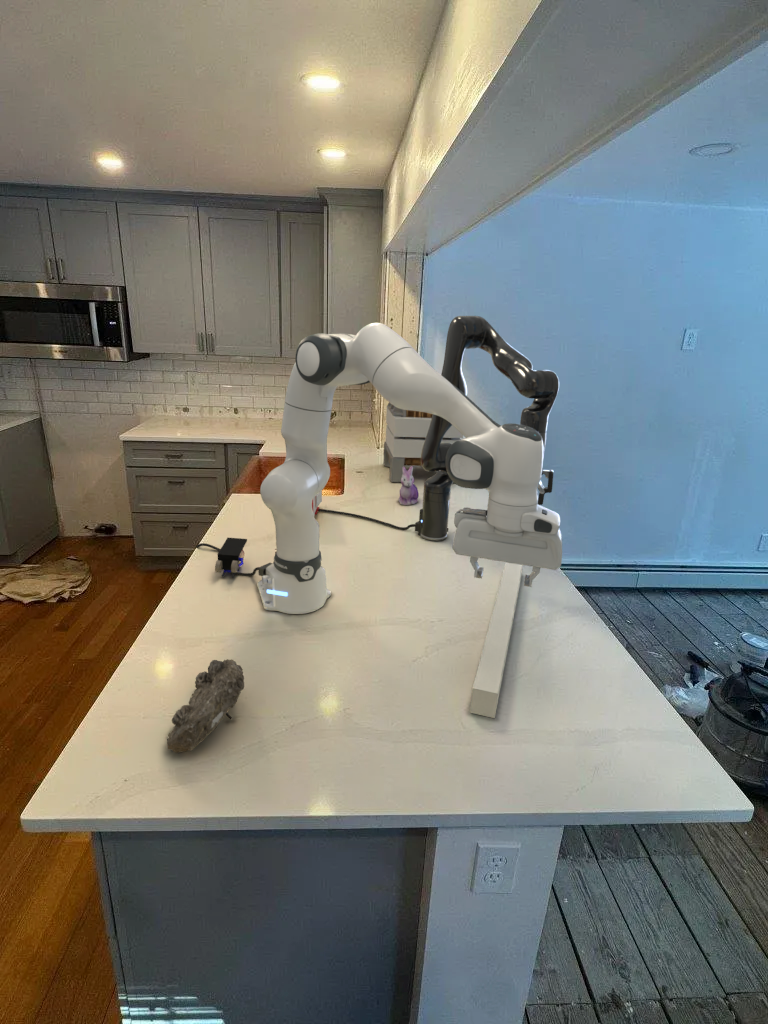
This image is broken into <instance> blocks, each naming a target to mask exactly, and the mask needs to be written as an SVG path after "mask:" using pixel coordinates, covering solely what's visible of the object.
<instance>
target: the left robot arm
mask: <svg viewBox="0 0 768 1024" xmlns="http://www.w3.org/2000/svg"><path fill="white" fill-rule="evenodd" d="M294 358H295V362H294V364H293V366H292V369H291V372H290V374H289V378H288V381H287V386H286V392H285V398H284V404H283V411H282V412H283V413H282V421H281V429H280V434H281V436H282V438H283V440H284V443H285V458H284V462H283V463H282V464H280V465H278V466H276V467H274V468H273V469H271V471H269V473H268V474H267V475H266V476H265V478H264V479H263V480H262V482H261V485H260V490H259V492H260V497H261V501H262V502H263V504H264V506H266V507H267V508H268V509H269V510H270V512H271V515H272V518H273V522H274V529H275V549H274V550H275V552H274V556H273V562H268V563H266V564H263V565H261V566H257V567H254V569H253V571H252V572H247V573H245V572H239V571H237V572H236V573H235V575H236V576H245V577H253V576H254V575H255V574H256V573H257V572H258V576H260V577H261V580H258V581H257V585H256V586H257V590H258V594H259V596H260V599H261V602H262V606H263V609H264V610H266V611H276V612H280V613H283V614H288V615H305V614H309V613H312V612H315V611H318V610H320V609H321V608H323V606H324V605H325V604H326V602H327V599H328V598H330V597H331V595H332V591H331V590H330V589H329V588H327V587H328V586H327V575H326V573H327V572H326V568H324V567H323V566H322V560H323V559H322V557H323V556H322V552H321V550H320V537H321V536H320V533H321V532H320V530H321V528H320V523H319V522H318V520H317V519H316V518H315V515H314V514H313V509H312V500H313V497H314V496H315V495H317V494H318V493H319V492H320V491H322V492H323V490H324V489H325V487H326V486H327V484H328V481H329V479H330V476H331V468H330V464H329V461H328V435H329V429H330V422H331V416H332V410H333V403H334V395H335V393H336V389H337V388H338V387H346V386H347V387H348V386H363V385H367V384H371V385H372V386H373V387H374V389H375V390H376V391H377V392H378V393H379V394H380V396H381V397H382V398H383V399H384V400H385V401H387V402H388V403H391V404H392V405H394V406H395V407H397V408H399V409H403V410H411V411H419V412H426V413H430V414H434V415H437V416H440V417H442V418H444V419H446V420H447V421H448V422H450V423H451V424H452V425H453V426H454V427H455V428H456V429H457V430H458V431H459V432H460V433H461V434H462V435H463V438H460V440H458V441H456V442H454V443H453V444H452V445H451V446H450V447H449V449H448V451H447V454H446V470H447V473H448V475H449V477H450V478H451V480H452V481H453V482H454V483H453V484H455V485H457V486H458V487H460V488H464V489H473V490H483V489H484V490H487V491H488V500H487V509H481V508H471V507H463V508H461V509H458V510H457V511H456V512H455V514H454V519H453V524H454V526H455V527H454V528H456V530H455V534H454V537H453V542H452V550H453V552H454V553H455V554H456V555H458V556H464V557H470V558H469V563H470V564H471V566H472V568H473V570H474V574H473V577H474V578H475V579H481V580H482V579H483V577H484V576H483V575H484V567H483V566H480V564H479V562H478V561H479V559H484V560H490V561H496V562H502V563H506V562H507V563H514V564H520V565H523V566H526V567H527V566H528V567H532V572H531V573H529V574H525V575H524V581H523V587H527V588H528V587H529V588H532V586H533V580H535V579H536V578H537V576H539V574H540V573H541V569H545V570H551V571H557V570H558V569H559V568H561V567H562V562H563V534H562V531H561V529H560V527H561V516H560V514H559V513H557V512H556V511H554V510H551V509H549V508H547V507H545V506H542V505H538V498H539V494H538V485H539V483H540V481H542V476H543V475H542V468H543V469H544V467H543V466H544V459H543V456H544V457H545V452H544V446H543V440H542V437H541V435H540V434H539V433H538V432H537V431H536V430H535V429H533V428H530V427H528V426H525V425H520V423H515V422H512V423H511V422H509V423H504V424H502V425H501V424H500V423H498V422H496V421H495V420H494V419H492V418H491V417H490V416H489V415H488V414H487V413H486V412H485V411H484V410H483V409H481V408H480V407H479V406H478V405H477V404H476V403H475V402H474V401H473V400H472V399H471V398H470V397H468V396H466V395H465V394H464V393H463V392H462V391H460V390H459V389H458V388H457V387H456V386H454V385H453V384H452V383H450V382H449V381H448V380H446V379H445V378H444V377H443V376H442V375H441V374H440V373H439V372H438V371H437V370H436V369H434V368H433V366H432V365H430V364H429V363H428V362H427V361H426V360H425V359H424V358H423V357H422V356H421V354H419V353H418V352H417V351H416V349H415V348H414V347H413V346H412V345H411V344H410V343H409V342H408V341H407V340H406V339H405V338H403V337H402V336H401V335H400V334H399V333H397V332H396V331H395V330H394V329H392V328H391V327H390V326H388V325H386V323H385V324H384V323H382V322H370V323H368V324H366V325H365V326H363V327H362V328H360V330H359V331H357V333H356V334H351V333H345V332H342V333H323V332H318V333H314V334H310V335H307V336H305V337H303V338H302V339H301V340H300V342H299V343H298V345H297V347H296V351H295V356H294ZM200 547H208V548H210V549H213V550H215V551H217V552H219V551H220V549H221V548H219V547H217V546H216V545H215V546H214V545H212V544H209V543H205V542H204V543H198V544H197V545H195V548H196V549H198V548H200ZM230 574H231V575H232V574H233V572H230ZM235 575H234V576H235Z"/></svg>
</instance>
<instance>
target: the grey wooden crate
mask: <svg viewBox="0 0 768 1024" xmlns="http://www.w3.org/2000/svg"><path fill="white" fill-rule="evenodd" d="M385 414H386V415H385V423H386V428H385V438H384V442H383V466H384V467H388V468H389V475H388V476H389V477H388V478H389V480H390V482H391V483H401V478H402V476H403V471H402V467H405V466H406V467H407V466H410V467H411V466H413V467H415V466H416V467H417V466H418V467H422V465H421V452H422V448H423V445H424V442H425V439H426V436H427V433H428V430H429V426H430V423H431V418H432V414H430V413H426V412H419V411H411V410H403V409H399V408H397V407H395V406H394V405H392V404H391V403H389V402H388V404H387V405H386V413H385ZM463 438H464V435H462V434H461V433H460V432H459V431H458V430H457V429H456V428H455V427H454V426H453V425H452V426H451V427H450V428H449V429H448V431H447V432H446V433H445V435H444V436H443V438H442V441H441V443H451V444H453V443H454V442H456V441H458V440H460V439H463ZM452 484H455V483H454V482H453V483H452Z"/></svg>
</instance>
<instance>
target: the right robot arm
mask: <svg viewBox="0 0 768 1024" xmlns="http://www.w3.org/2000/svg"><path fill="white" fill-rule="evenodd" d="M444 349H445V350H444V358H443V364H442V369H441V374H440V375H442V376H443V377H444V378H445V379H446V380H448V381H449V382H450V383H452V384H453V385H454V386H456V387H457V388H458V389H459V390H460V391H462V392H463V393H464V394H465V395H466V396H467V395H468V387H467V382H466V379H465V376H464V374H463V370H462V364H463V357H464V353H465V350H467V349H468V350H469V349H471V350H472V349H473V350H474V349H480V350H482V351H485V352H487V354H489V355H490V356H491V361H492V364H493V366H494V367H495V369H496V370H497V371H498V372H499V373H501V374H502V375H503V376H504V377H506V378H507V379H509V380H510V381H511V383H512V385H513V386H514V388H515V389H516V391H517V392H518V394H519V395H521V396H523V397H525V398H526V399H533V400H532V403H531V404H530V405H528V406H525V407H524V408H523V409H522V411H521V414H520V421H519V424H520V425H525V426H528V427H530V428H533V429H535V430H536V431H537V432H538V433H539V434H540V435H541V437H542V440H543V446H544V453H545V452H546V451H545V450H546V446H547V431H548V423H549V415H550V413H551V411H552V409H553V406H554V404H555V401H556V399H557V396H558V393H559V389H560V379H559V377H558V375H557V373H556V372H555V371H553V370H549V369H542V370H541V369H539V370H535V369H534V370H533V367H534V366H533V363H532V361H531V360H530V359H529V358H528V357H526V356H525V355H524V354H522V352H520V351H518V350H517V349H516V348H514V347H513V346H511V345H510V344H509V343H508V342H507V341H506V340H505V339H504V338H503V337H502V335H500V334H499V332H497V330H496V329H495V328H494V327H493V326H492V325H491V324H490V322H489V321H488V320H486V318H484V317H483V316H479V315H457V316H455V317H454V318H453V319H452V320H451V321H450V323H449V326H448V329H447V333H446V341H445V348H444ZM467 397H468V396H467ZM451 426H452V424H451V423H450V422H448V421H447V420H446V419H444V418H442V417H440V416H437V415H434V414H432V418H431V423H430V426H429V430H428V433H427V436H426V439H425V442H424V445H423V448H422V452H421V465H422V466H421V467H422V469H423V470H424V471H426V472H435V474H433V475H432V476H430V477H428V478H427V479H425V480H424V482H423V493H422V496H423V497H422V506H421V508H420V509H419V516H418V521H416V522H415V523H411V524H408V525H407V526H404V527H403V526H398V525H394V524H392V523H389V522H386V521H383V520H379V519H376V518H372V517H369V516H365V515H361V514H357V513H350V512H346V511H338V510H333V509H332V510H331V509H323V508H319V509H318V512H322V513H327V514H328V513H329V514H336V515H343V516H349V517H354V518H358V519H362V520H363V519H364V520H366V521H370V522H374V523H377V524H381V525H384V526H387V527H391V528H393V529H396V530H398V531H407V530H409V529H410V528H414V532H417V535H418V536H420V538H421V539H424V540H426V541H432V542H440V541H444V540H446V539H447V538H448V533H449V528H448V525H449V517H450V516H449V514H450V504H451V494H452V493H451V491H452V486H453V484H454V483H453V481H452V480H451V478H450V477H449V475H448V473H447V470H446V454H447V451H448V449H449V447H450V446H451V445H452V444H451V443H441V441H442V438H443V436H444V435H445V433H446V432H447V431H448V429H449V428H450V427H451ZM544 458H545V455H544V456H543V460H544ZM543 475H544V477H545V478H546V479H547V486H546V487H545V486H544V485H543V482H542V480H540V483H539V485H538V488H537V491H539V493H538V505H540V506H542V505H544V498H545V494H551V493H552V492H553V485H554V469H553V468H550V469H544V467H543V468H542V476H543Z"/></svg>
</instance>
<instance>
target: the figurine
mask: <svg viewBox="0 0 768 1024" xmlns="http://www.w3.org/2000/svg"><path fill="white" fill-rule="evenodd" d="M402 471H403V475H402V478H401V482H400V484H401V487H400V489H399V497H398V502H399V504H400V505H404V506H410V505H414V504H416V503H418V500H419V496H420V495H419V494H420V493H419V490H418V487H417V486H416V484H415V478H414V476H413V471H414V466H410V467H408V469H407V468H406V467H405V466H404V467H402Z"/></svg>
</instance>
